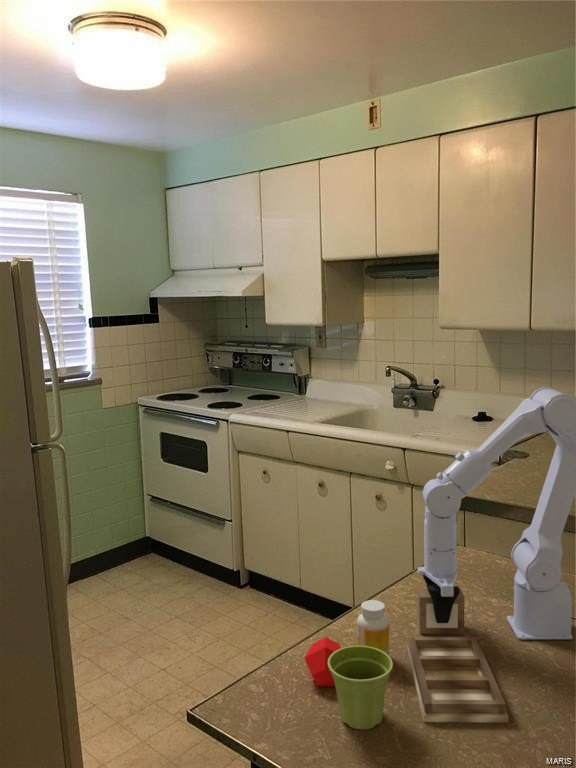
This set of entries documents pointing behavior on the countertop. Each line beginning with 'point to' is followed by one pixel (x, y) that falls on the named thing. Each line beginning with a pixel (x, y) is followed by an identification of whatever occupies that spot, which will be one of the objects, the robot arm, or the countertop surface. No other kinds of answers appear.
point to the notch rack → (454, 681)
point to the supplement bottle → (373, 626)
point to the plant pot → (360, 684)
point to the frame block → (427, 616)
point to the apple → (321, 661)
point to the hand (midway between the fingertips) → (440, 616)
